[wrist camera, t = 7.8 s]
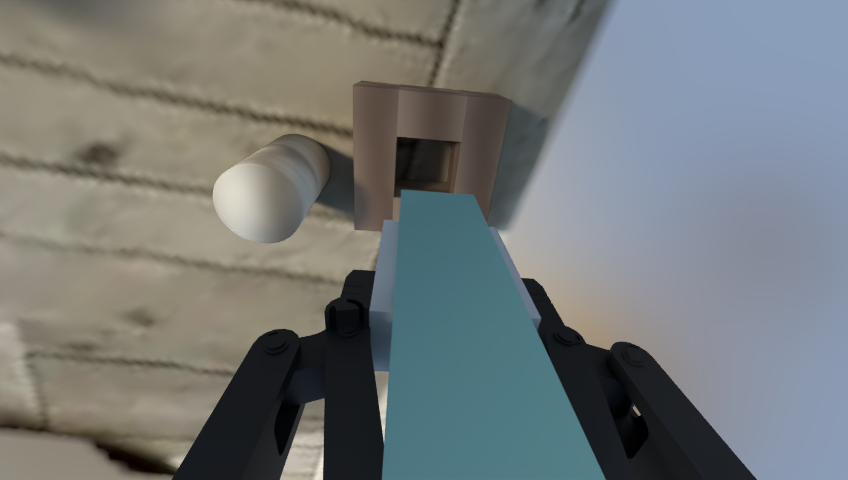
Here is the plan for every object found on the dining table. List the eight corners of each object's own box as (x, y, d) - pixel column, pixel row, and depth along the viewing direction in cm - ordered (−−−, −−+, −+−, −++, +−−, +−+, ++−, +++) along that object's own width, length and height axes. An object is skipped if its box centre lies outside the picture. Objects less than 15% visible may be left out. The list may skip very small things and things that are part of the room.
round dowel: (271, 192, 33) (222, 240, 24) (262, 131, 30) (203, 161, 22) (331, 196, 34) (305, 245, 25) (329, 136, 31) (297, 168, 22)
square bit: (397, 252, 20) (376, 570, 8) (401, 189, 18) (382, 479, 6) (463, 256, 20) (546, 568, 8) (473, 194, 18) (606, 481, 6)
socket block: (361, 207, 34) (354, 229, 30) (361, 80, 29) (352, 85, 24) (474, 215, 35) (483, 237, 31) (496, 93, 30) (511, 100, 25)
